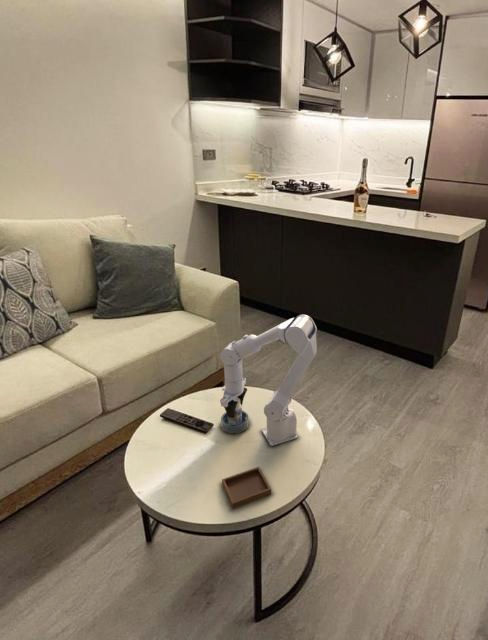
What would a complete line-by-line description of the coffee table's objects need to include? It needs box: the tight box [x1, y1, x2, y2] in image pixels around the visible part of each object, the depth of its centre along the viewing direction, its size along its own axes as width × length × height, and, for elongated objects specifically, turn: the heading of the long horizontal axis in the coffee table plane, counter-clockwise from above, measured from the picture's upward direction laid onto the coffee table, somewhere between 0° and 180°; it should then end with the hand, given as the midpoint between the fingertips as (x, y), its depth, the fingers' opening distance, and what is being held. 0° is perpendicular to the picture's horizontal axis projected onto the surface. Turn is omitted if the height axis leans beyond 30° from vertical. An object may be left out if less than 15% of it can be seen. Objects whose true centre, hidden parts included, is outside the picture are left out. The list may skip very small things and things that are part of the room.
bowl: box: [220, 410, 250, 434], centre depth 139 cm, size 9×9×3 cm
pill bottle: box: [228, 397, 243, 425], centre depth 137 cm, size 5×5×8 cm
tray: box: [221, 466, 272, 510], centre depth 114 cm, size 11×9×2 cm
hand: (234, 412), depth 137 cm, fingers closed on pill bottle, 5 cm apart
